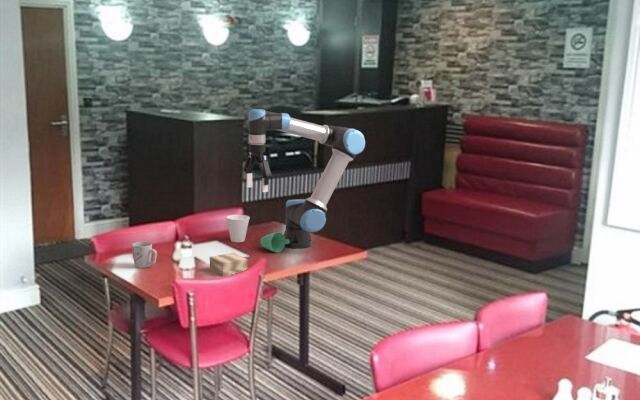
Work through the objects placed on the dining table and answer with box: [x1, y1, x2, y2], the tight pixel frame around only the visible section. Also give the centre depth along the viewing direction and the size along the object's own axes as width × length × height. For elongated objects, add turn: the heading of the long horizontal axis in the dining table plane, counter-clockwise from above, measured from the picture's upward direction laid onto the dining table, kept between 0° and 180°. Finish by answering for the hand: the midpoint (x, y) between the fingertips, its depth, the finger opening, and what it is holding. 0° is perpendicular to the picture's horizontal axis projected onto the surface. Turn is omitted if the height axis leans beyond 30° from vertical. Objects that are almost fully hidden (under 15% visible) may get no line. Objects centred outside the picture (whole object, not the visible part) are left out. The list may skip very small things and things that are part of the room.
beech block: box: [209, 252, 249, 277], centre depth 298 cm, size 12×12×6 cm
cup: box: [225, 214, 250, 243], centre depth 348 cm, size 12×12×12 cm
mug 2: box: [259, 231, 290, 254], centre depth 335 cm, size 15×10×10 cm
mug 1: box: [131, 241, 158, 269], centre depth 300 cm, size 11×8×10 cm
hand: (257, 189), depth 315 cm, fingers open, 13 cm apart
